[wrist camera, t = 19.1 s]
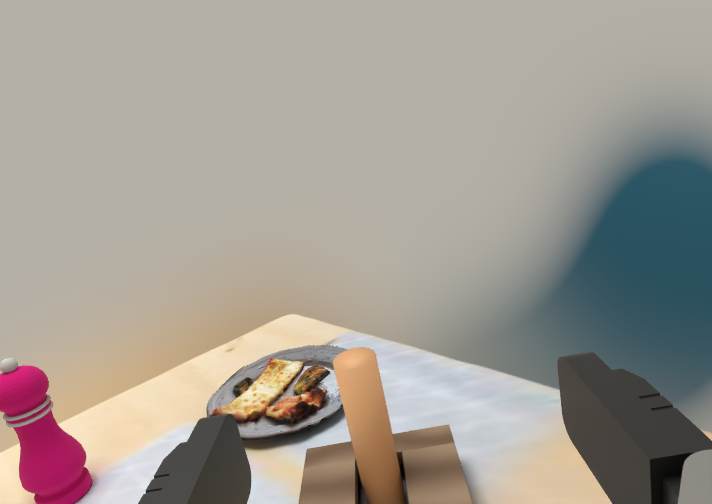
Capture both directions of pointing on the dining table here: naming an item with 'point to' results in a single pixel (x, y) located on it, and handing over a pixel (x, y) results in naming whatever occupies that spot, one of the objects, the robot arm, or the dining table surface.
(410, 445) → the keyhole base
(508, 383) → the dining table surface
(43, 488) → the pepper mill
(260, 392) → the food plate
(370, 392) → the peg
